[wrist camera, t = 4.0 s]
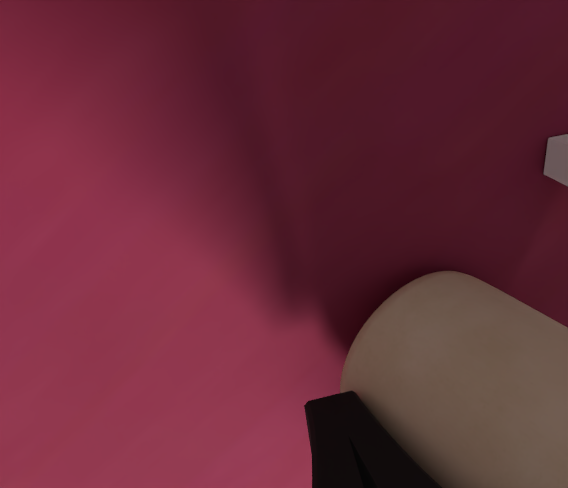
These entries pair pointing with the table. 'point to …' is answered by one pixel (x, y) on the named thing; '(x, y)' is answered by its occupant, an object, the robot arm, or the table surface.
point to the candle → (466, 383)
